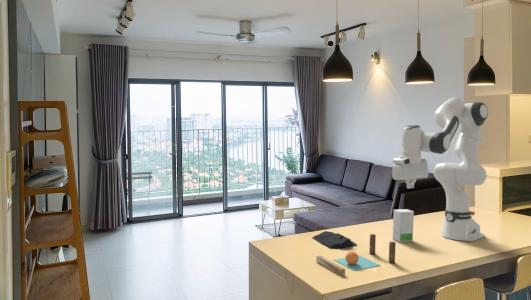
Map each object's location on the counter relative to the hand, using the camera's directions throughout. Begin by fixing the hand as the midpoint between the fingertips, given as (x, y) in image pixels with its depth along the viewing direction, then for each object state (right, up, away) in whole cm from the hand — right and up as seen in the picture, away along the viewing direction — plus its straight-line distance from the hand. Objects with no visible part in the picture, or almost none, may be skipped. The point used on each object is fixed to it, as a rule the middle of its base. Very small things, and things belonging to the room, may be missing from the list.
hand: (410, 188), depth 200 cm
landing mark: (-30, -31, -19) cm, 47 cm away
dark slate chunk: (-35, -29, +11) cm, 47 cm away
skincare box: (+1, -28, +14) cm, 32 cm away
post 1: (-20, -30, -7) cm, 36 cm away
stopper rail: (-42, -31, -25) cm, 58 cm away
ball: (-32, -28, -21) cm, 48 cm away
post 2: (-14, -31, -18) cm, 38 cm away
